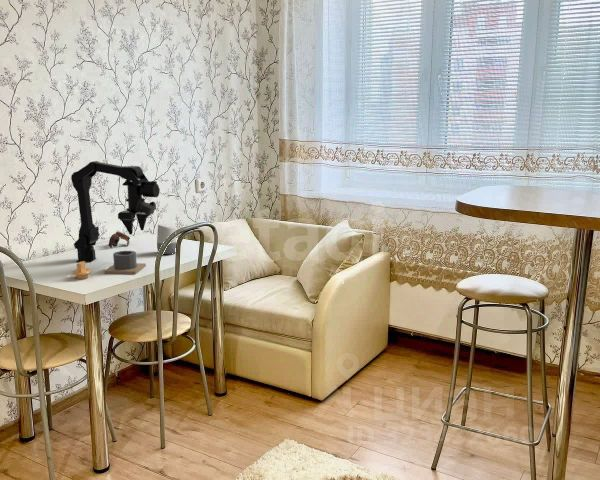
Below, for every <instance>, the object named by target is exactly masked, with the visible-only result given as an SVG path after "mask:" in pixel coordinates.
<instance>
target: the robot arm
mask: <svg viewBox="0 0 600 480" xmlns="http://www.w3.org/2000/svg"><path fill="white" fill-rule="evenodd" d="M97 173H103V174H108V175H114V176H118V177H120V178H121V179H123V180H125V181H124V182H123V183H122V186H126V188H127V198H126V199H125V202H127V206H128V208H126V210H122V211H120V212H119V213H117V220H119V221H121V222H122V224H123V225H124V227H125V229H126V231H127V233H128V234H129V235H133V232H134V231H133V230H134V222H135V221H136V218H137V222H138V226H139V228H140V231H144V230H145V226H146V223H147V222H146V221H147V219H148V218H149V217H150V216H151V215H153V214H154V212H155V210H157V203H156V201H150V202H145V201H146V199H145V198H158V197H159V195H160V191H161V190H160V189H161V188H160V186H159V184H158V181H157V180H152V181H150V180H149V179H148V178H147V176H146V175H145V174H144V171H143V169H142V167H140V166H139V165H128V166H127V165H126V166H123V165H122V166H121V165H117V164H112V163H105V162H100V161H97V160H95V161H90V162H89V163H87V164H86V165H85V166H83V167H82V168H80V169H79V170H78V171H74V172H72V174H71V176H70V180H71V183H72V186H73V188H74V190H75V191H76V193H77V200H78V201H77V202H78V211H79V216H80V217H79V218H80V226H79V227H80V228H79V230H78V239H76V241H75V242H74V243H73V246H74V249H76V250H77V260H76V263H79V262H81V261H85V263H92V262H93V261H95V260H96V259H97V257H96V249H95V247H94V246H96V244H97V242H98V240H99V236H101V235H100V232H99V230H100V229H99V226H95V224H94V221H93V215H92V205H91V197H90V196H91V195H90V189H91V187H92V179H93V178H94V176H95V175H96V174H97Z"/></svg>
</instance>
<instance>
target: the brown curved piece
mask: <svg viewBox="0 0 600 480" xmlns="http://www.w3.org/2000/svg"><path fill="white" fill-rule="evenodd" d="M130 239H131V237H130V236H128V235H127V234H124V233H123V232H120V231H116V232H115V233H113V234H112V235H111V236H110V238H109V241H108V247H109V248H111V249H112V247H114V248H115V247H118V243H119V242H120V240H125V241H126V247H129V246H130Z"/></svg>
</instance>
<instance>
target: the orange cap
mask: <svg viewBox="0 0 600 480" xmlns="http://www.w3.org/2000/svg"><path fill="white" fill-rule="evenodd" d="M71 273H72V275H73V276H75V277H76V278H75V279H77V280H86V279H88V278H89V275H90V274H91V273H92V269H91V268H86V262H85V261H81V262H76V269H74V270H72V271H71Z"/></svg>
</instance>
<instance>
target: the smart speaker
mask: <svg viewBox="0 0 600 480" xmlns="http://www.w3.org/2000/svg"><path fill="white" fill-rule="evenodd" d="M174 231H175V232H176V230H175V227H173V226H171V225H167V224H162V223H161V224H160V223H158V224H157V237H156V248H157V252H158V251H159V249H160V247H161V245H162V244H163V242H164V241H165V240H166V239H167V237H168V236H170V235H171V234H172V233H173V232H174ZM176 240H177V236H176V237H175V238H174V239H173V240H172V241H171V243H170V244H169V245H168V246H167V248H166V250H165V252H164V254H171V255H173V254H172V253H174V254H176V252H175V248H176ZM177 241H178V240H177Z"/></svg>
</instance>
